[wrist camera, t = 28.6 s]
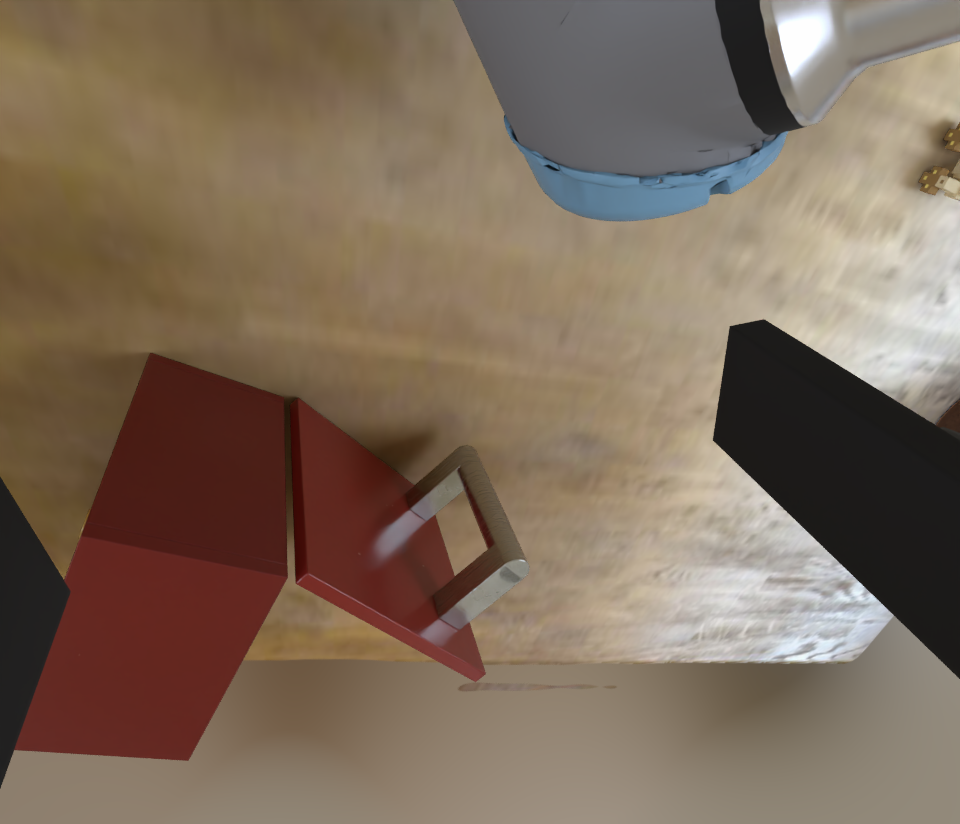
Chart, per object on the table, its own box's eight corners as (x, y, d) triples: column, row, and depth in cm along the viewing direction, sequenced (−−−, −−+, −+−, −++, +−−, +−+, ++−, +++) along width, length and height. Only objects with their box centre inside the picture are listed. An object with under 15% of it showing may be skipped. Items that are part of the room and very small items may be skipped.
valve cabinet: (284, 397, 51) (288, 577, 34) (214, 544, 56) (188, 761, 40) (150, 352, 46) (80, 535, 30) (88, 517, 52) (0, 749, 35)
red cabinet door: (361, 337, 50) (402, 491, 34) (486, 448, 59) (566, 612, 42) (289, 405, 51) (295, 584, 35) (421, 503, 60) (475, 682, 44)
